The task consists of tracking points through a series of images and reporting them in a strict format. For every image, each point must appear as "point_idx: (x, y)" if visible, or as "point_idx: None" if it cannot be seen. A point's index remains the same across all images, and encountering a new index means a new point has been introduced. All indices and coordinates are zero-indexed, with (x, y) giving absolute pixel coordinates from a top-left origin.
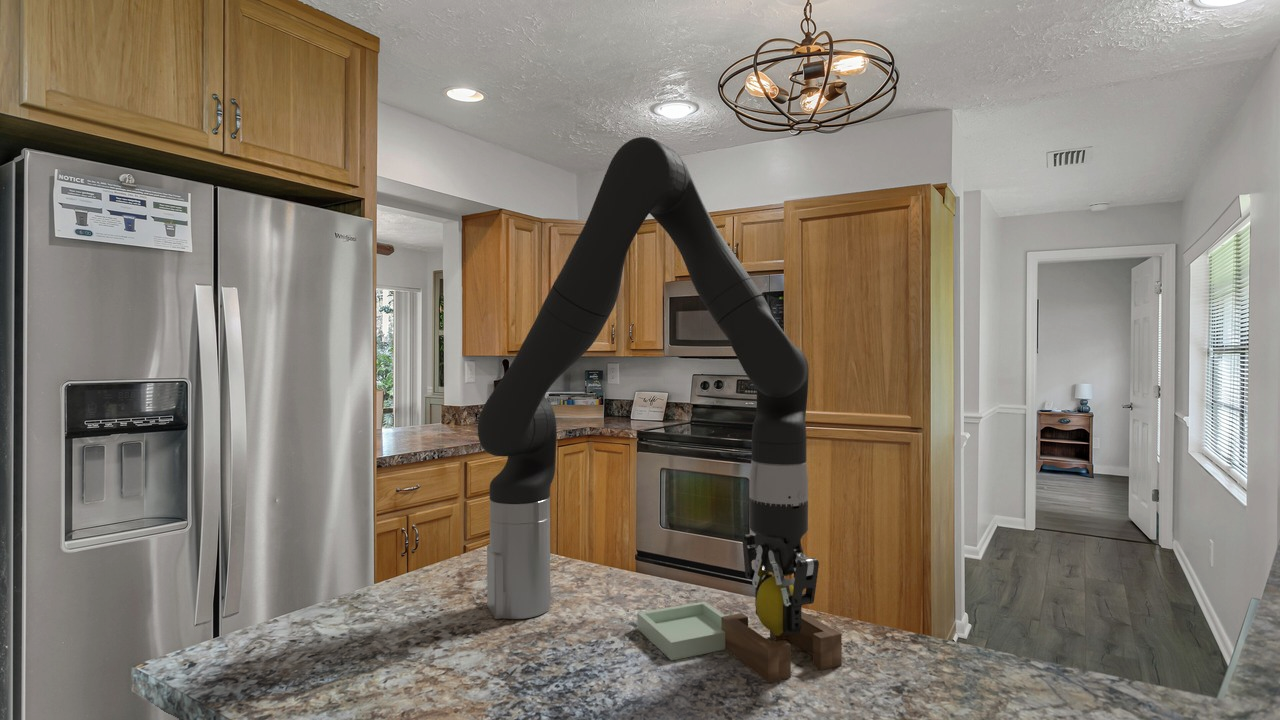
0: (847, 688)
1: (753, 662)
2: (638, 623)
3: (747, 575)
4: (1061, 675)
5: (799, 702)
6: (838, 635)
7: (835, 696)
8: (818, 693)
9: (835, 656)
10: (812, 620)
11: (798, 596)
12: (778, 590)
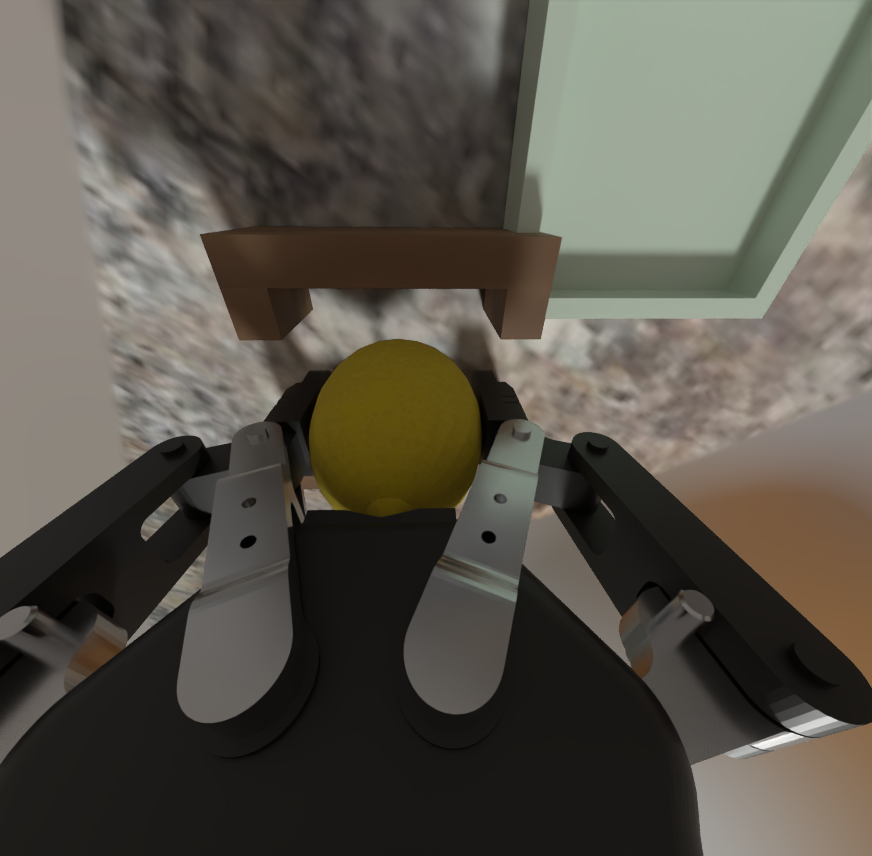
0: (212, 394)
1: (331, 228)
2: None
3: (590, 440)
4: None
5: (132, 242)
6: None
7: (172, 350)
8: (188, 322)
9: None
10: None
11: (118, 473)
12: (320, 455)
